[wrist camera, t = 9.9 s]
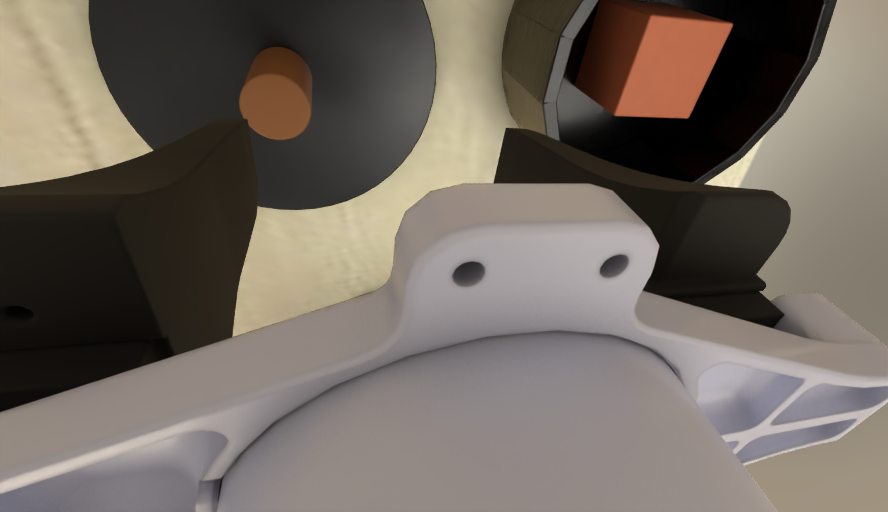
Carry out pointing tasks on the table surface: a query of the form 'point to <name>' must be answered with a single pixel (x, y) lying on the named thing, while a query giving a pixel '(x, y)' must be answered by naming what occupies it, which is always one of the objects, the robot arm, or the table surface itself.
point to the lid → (277, 83)
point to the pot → (652, 138)
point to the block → (649, 58)
